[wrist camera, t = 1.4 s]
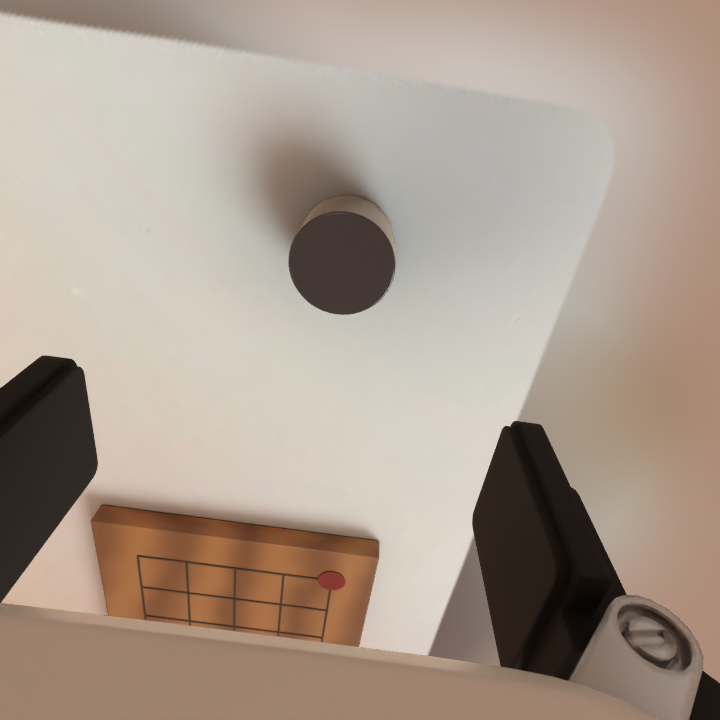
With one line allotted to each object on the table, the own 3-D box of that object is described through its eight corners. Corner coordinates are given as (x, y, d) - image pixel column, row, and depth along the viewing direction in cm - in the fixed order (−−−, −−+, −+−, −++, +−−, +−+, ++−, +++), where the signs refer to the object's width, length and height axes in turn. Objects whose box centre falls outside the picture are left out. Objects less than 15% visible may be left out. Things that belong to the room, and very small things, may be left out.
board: (379, 540, 36) (379, 559, 34) (346, 690, 46) (345, 708, 44) (101, 504, 35) (89, 521, 34) (127, 663, 45) (119, 681, 44)
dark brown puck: (373, 178, 24) (371, 193, 21) (407, 268, 26) (410, 294, 23) (284, 216, 25) (269, 236, 22) (323, 300, 27) (315, 328, 24)
